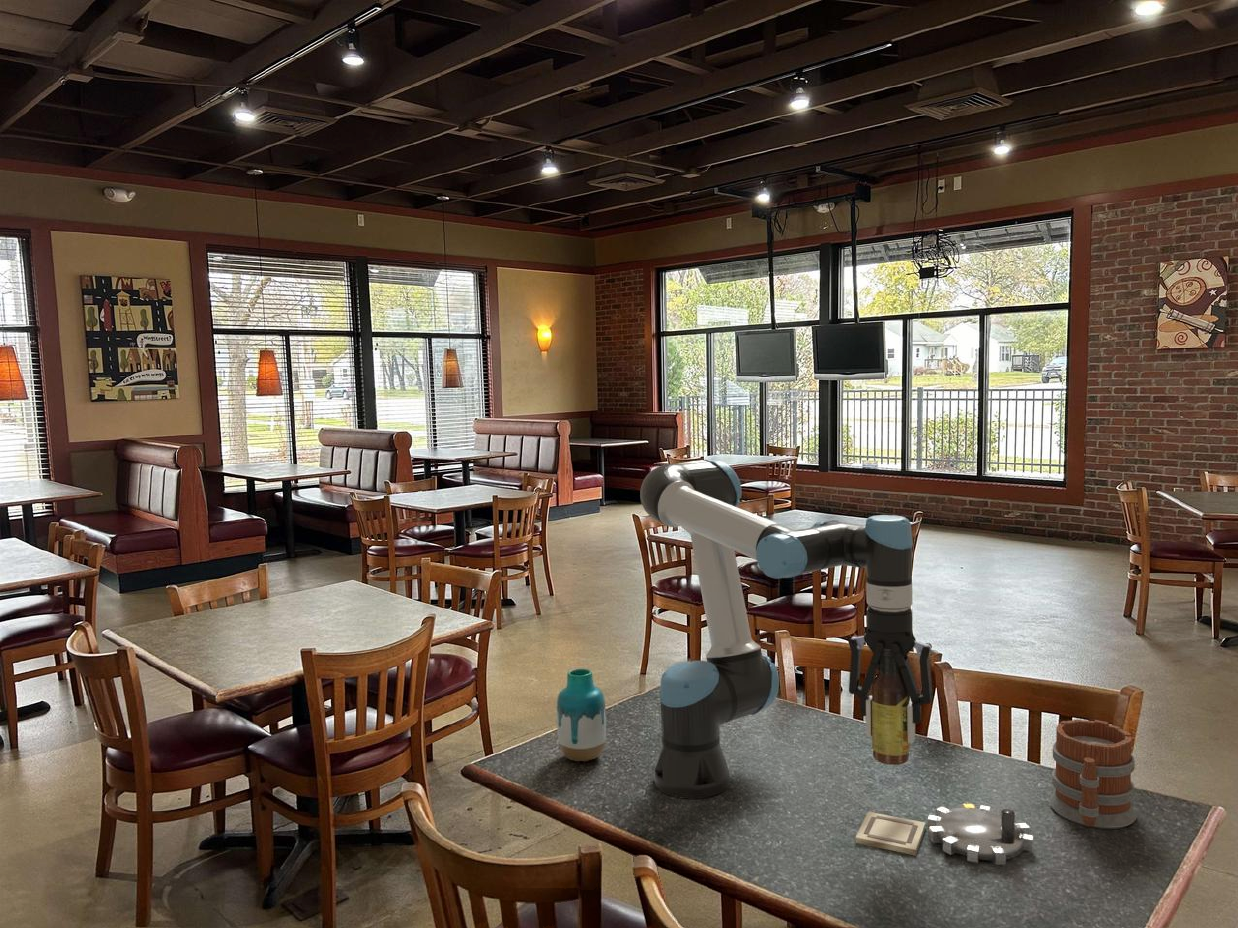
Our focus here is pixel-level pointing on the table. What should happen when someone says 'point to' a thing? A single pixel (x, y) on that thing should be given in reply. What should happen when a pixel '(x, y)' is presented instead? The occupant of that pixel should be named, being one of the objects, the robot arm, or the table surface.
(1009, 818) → the sprocket
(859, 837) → the marked pad
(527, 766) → the table surface
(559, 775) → the table surface
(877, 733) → the sauce bottle
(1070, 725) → the mug
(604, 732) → the vase
